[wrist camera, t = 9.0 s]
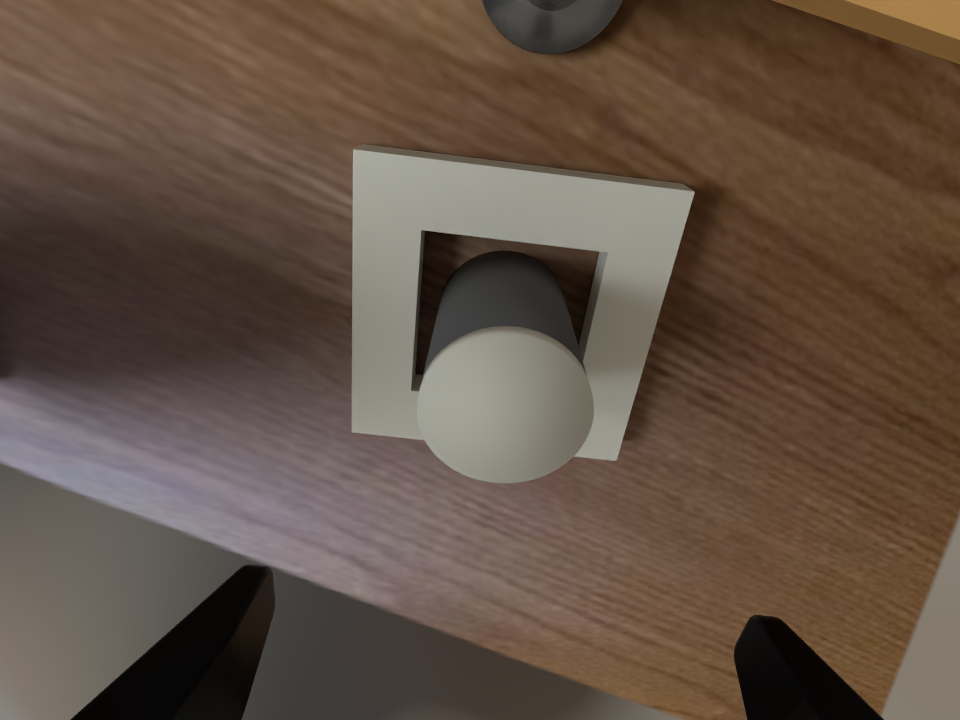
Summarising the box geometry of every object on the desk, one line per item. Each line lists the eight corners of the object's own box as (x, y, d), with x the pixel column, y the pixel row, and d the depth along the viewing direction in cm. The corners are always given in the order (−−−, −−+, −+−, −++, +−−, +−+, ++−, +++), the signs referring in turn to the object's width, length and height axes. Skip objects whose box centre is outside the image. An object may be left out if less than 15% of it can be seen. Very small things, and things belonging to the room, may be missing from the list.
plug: (435, 359, 20) (411, 474, 15) (445, 243, 18) (422, 325, 13) (553, 372, 21) (575, 491, 15) (576, 258, 19) (611, 346, 13)
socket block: (358, 414, 22) (351, 432, 21) (362, 144, 17) (353, 149, 16) (610, 441, 22) (616, 460, 21) (682, 183, 17) (694, 191, 16)
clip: (1209, 206, 10) (1307, 226, 9) (489, -30, 9) (487, -45, 8) (1348, 51, 9) (1484, 48, 8) (539, -252, 8) (548, -313, 6)
